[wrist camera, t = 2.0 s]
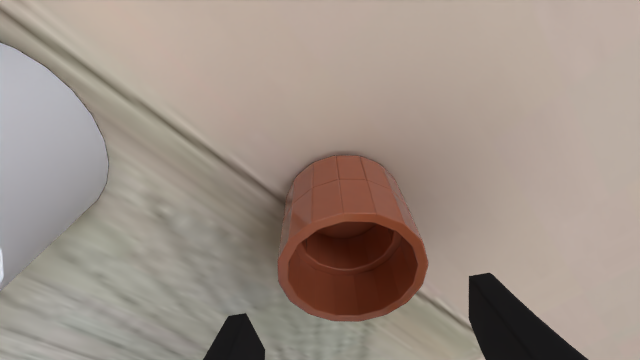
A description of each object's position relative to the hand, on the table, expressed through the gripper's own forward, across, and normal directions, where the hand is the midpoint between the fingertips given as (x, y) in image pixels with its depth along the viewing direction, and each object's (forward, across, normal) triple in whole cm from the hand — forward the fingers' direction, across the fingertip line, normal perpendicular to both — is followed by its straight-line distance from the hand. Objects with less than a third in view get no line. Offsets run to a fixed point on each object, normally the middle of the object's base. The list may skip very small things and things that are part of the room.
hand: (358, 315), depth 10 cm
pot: (+7, 0, 0) cm, 7 cm away
